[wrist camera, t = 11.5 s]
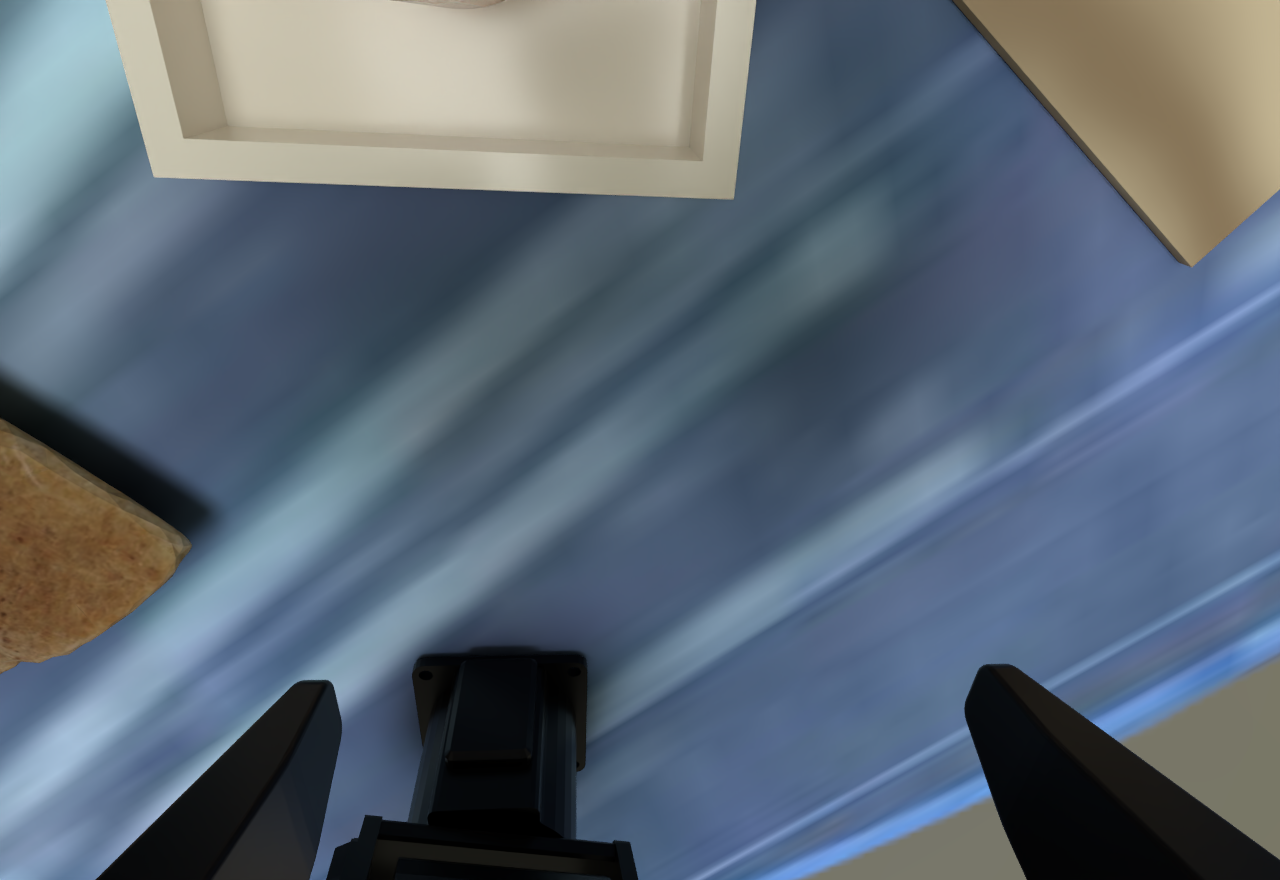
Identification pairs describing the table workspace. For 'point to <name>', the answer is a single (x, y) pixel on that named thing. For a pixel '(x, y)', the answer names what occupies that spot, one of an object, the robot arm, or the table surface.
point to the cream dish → (443, 92)
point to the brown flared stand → (70, 552)
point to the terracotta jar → (455, 3)
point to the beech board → (1157, 100)
